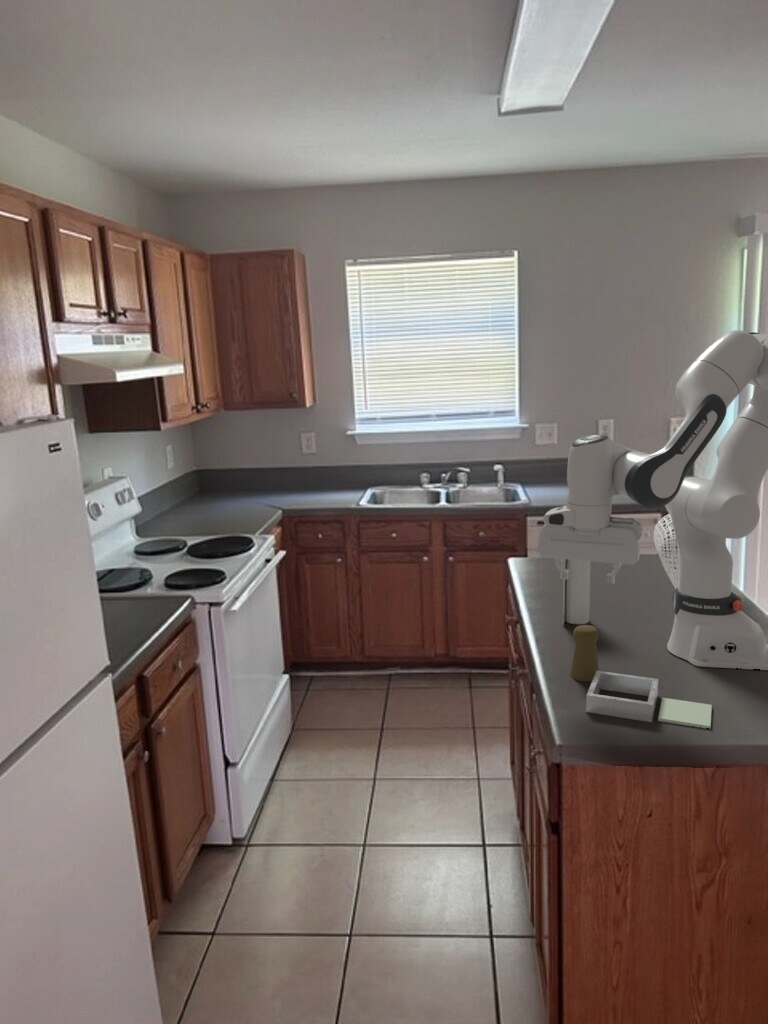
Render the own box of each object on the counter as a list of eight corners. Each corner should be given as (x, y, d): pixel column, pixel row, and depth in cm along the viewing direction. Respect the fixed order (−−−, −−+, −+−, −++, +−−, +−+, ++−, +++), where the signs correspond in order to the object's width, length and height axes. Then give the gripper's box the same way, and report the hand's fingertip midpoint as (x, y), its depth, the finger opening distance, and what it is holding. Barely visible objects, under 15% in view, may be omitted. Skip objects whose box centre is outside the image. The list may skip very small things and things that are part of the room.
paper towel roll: (586, 616, 198) (588, 536, 193) (591, 625, 192) (593, 542, 187) (558, 617, 198) (559, 537, 193) (562, 625, 192) (564, 543, 188)
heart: (723, 614, 196) (729, 530, 191) (659, 611, 200) (663, 528, 195) (705, 581, 222) (709, 507, 218) (649, 579, 226) (652, 506, 221)
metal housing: (657, 695, 153) (658, 679, 152) (651, 722, 142) (652, 705, 142) (595, 686, 158) (596, 670, 157) (586, 711, 147) (586, 695, 147)
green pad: (711, 707, 147) (711, 704, 147) (710, 729, 139) (710, 726, 139) (662, 700, 151) (662, 697, 151) (658, 720, 143) (658, 717, 143)
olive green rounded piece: (594, 669, 166) (596, 621, 164) (603, 681, 160) (604, 631, 158) (567, 670, 166) (567, 622, 164) (574, 682, 160) (575, 632, 158)
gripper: (643, 515, 154) (641, 581, 157) (542, 509, 163) (542, 572, 166) (640, 522, 149) (637, 590, 152) (535, 516, 157) (535, 580, 160)
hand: (587, 580), depth 159 cm, fingers open, 8 cm apart
